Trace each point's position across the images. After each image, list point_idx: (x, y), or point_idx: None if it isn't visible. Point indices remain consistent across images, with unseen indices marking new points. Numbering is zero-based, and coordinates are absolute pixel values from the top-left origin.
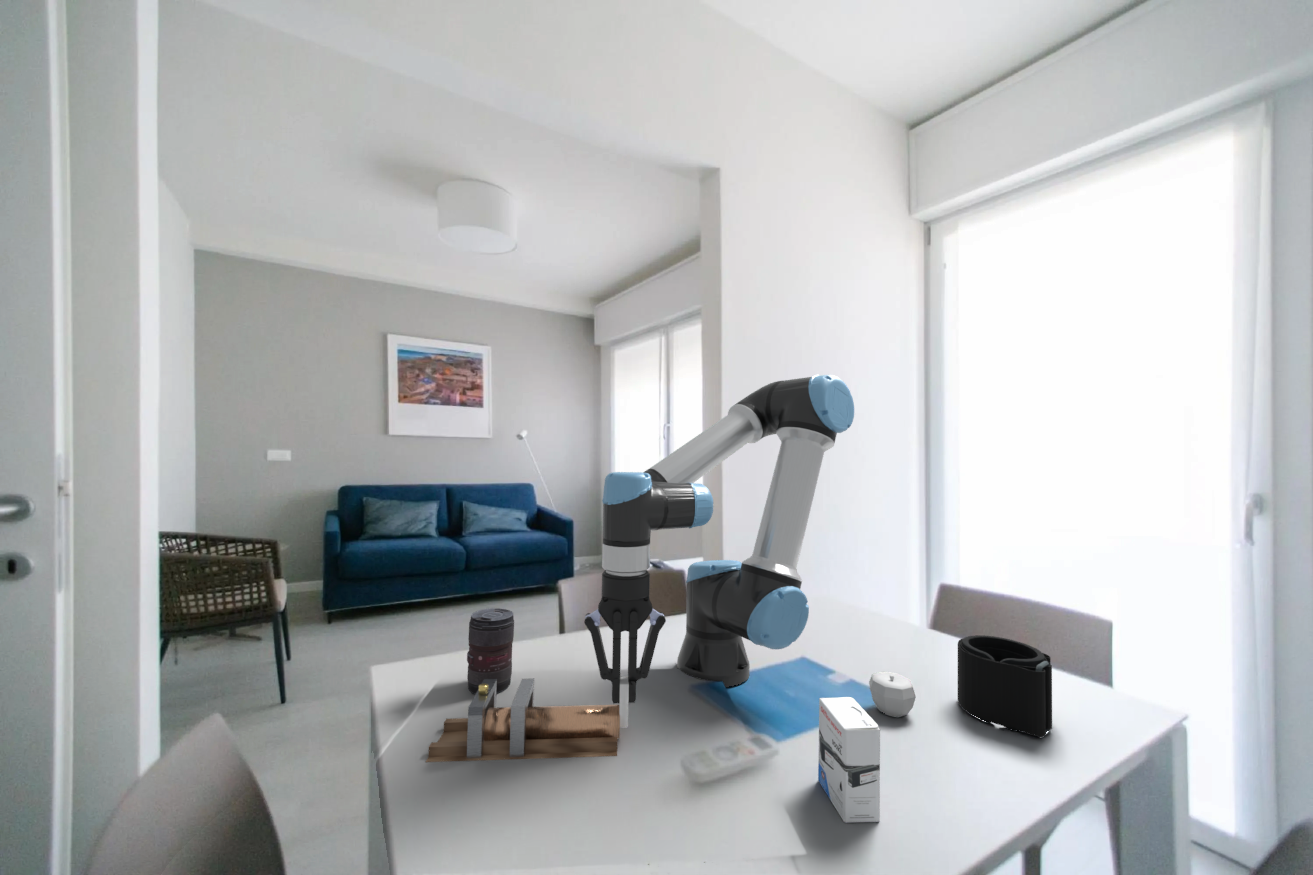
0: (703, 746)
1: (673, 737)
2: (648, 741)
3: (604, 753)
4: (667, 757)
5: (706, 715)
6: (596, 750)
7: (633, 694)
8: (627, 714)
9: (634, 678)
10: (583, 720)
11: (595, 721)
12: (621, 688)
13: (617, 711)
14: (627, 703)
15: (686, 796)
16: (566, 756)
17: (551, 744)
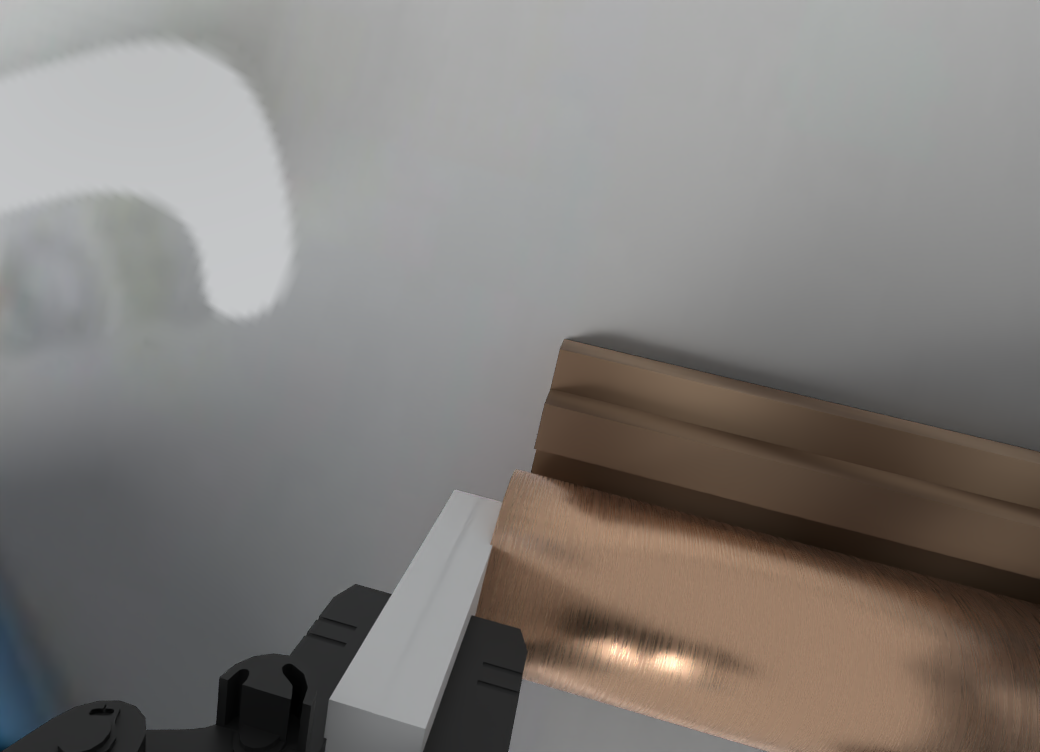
0: (135, 367)
1: (251, 475)
2: (370, 482)
3: (624, 389)
4: (311, 335)
5: (76, 585)
6: (665, 417)
7: (334, 630)
8: (436, 529)
9: (232, 740)
10: (753, 585)
11: (668, 552)
12: (422, 688)
13: (499, 573)
14: (411, 577)
15: (292, 9)
16: (845, 423)
17: (954, 504)
